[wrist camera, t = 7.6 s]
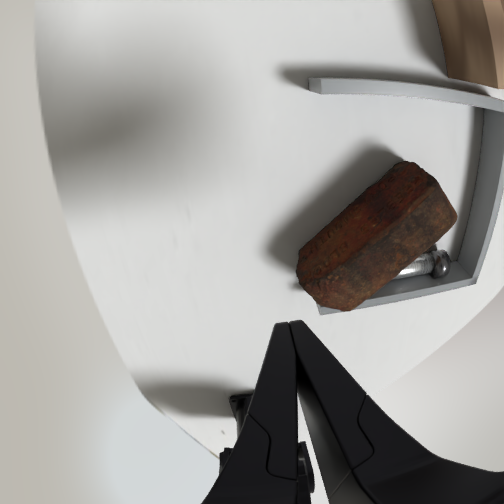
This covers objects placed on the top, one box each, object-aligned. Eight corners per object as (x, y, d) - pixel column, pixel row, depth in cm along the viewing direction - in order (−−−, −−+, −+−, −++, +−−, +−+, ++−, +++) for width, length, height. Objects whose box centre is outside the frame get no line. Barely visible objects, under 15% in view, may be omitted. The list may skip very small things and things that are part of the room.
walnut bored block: (500, 78, 14) (547, 91, 10) (448, 77, 15) (498, 88, 11) (487, 6, 11) (534, 7, 7) (430, -4, 12) (479, -12, 7)
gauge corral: (461, 266, 24) (475, 283, 22) (312, 292, 24) (320, 315, 22) (491, 96, 15) (514, 104, 13) (308, 77, 15) (320, 79, 13)
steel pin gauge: (434, 265, 23) (446, 281, 22) (349, 280, 23) (358, 298, 22) (439, 244, 22) (453, 259, 20) (352, 256, 22) (361, 274, 20)
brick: (400, 152, 18) (438, 177, 14) (426, 191, 20) (462, 221, 16) (289, 254, 22) (301, 298, 18) (323, 281, 24) (339, 325, 20)
